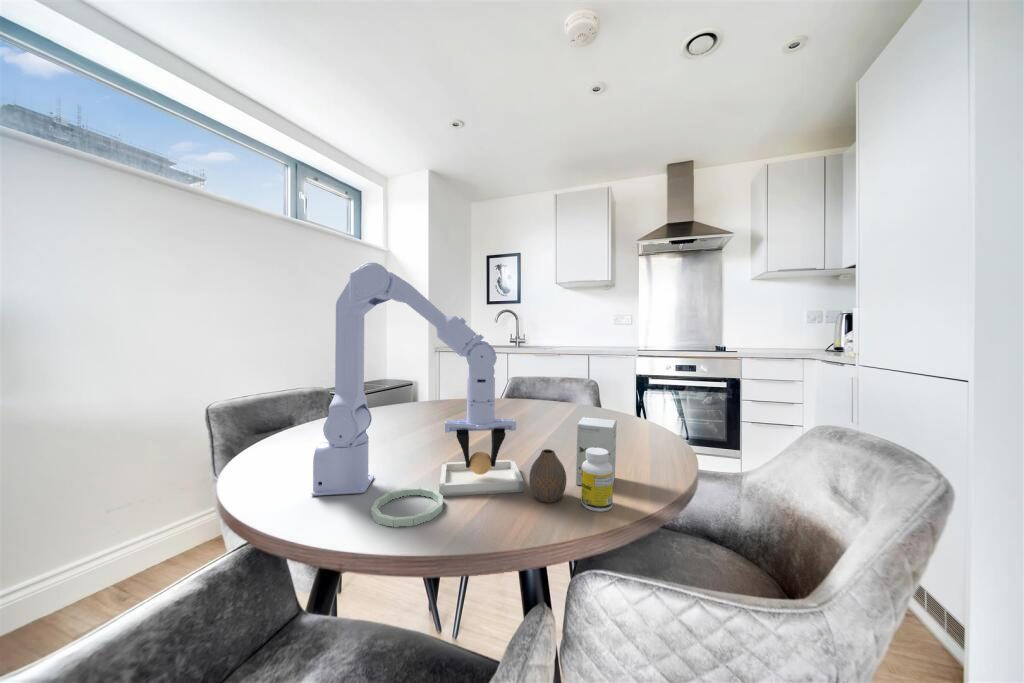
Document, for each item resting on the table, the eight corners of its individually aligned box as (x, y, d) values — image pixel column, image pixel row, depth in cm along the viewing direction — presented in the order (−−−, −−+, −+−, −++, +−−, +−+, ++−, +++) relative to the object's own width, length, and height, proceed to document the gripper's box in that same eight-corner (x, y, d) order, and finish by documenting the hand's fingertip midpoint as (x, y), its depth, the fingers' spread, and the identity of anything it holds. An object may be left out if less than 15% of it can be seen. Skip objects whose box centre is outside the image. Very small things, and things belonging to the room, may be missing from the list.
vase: (565, 490, 69) (565, 446, 69) (567, 507, 62) (567, 458, 62) (529, 489, 69) (530, 444, 69) (528, 505, 62) (528, 456, 62)
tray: (439, 496, 65) (439, 485, 65) (442, 472, 77) (442, 462, 77) (523, 491, 68) (523, 481, 68) (513, 468, 80) (513, 459, 80)
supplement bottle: (577, 498, 65) (578, 446, 65) (606, 497, 66) (606, 445, 66) (586, 513, 60) (586, 456, 60) (617, 512, 60) (617, 455, 60)
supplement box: (574, 485, 71) (575, 423, 71) (581, 472, 78) (582, 415, 78) (612, 491, 68) (613, 427, 68) (616, 477, 75) (617, 419, 75)
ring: (364, 529, 54) (364, 521, 54) (380, 495, 66) (380, 489, 66) (441, 524, 56) (441, 516, 56) (444, 492, 67) (444, 486, 67)
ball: (469, 478, 70) (469, 455, 70) (468, 470, 74) (468, 448, 74) (492, 477, 71) (492, 454, 71) (490, 469, 75) (490, 447, 75)
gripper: (444, 404, 67) (443, 474, 68) (518, 402, 70) (518, 470, 70) (445, 397, 74) (445, 461, 74) (513, 396, 77) (512, 458, 77)
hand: (480, 465), depth 73 cm, fingers closed on ball, 5 cm apart
